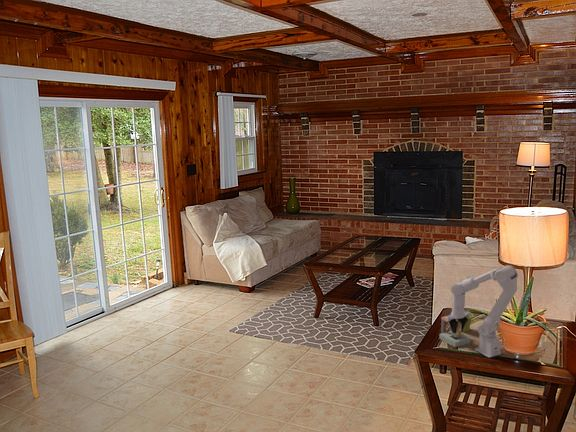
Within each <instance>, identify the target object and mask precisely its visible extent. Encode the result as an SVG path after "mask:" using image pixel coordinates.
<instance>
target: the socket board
mask: <svg viewBox="0 0 576 432" xmlns="http://www.w3.org/2000/svg"><path fill="white" fill-rule="evenodd" d="M453 334H454V333H452V331H446V332H445V333H441V332H440V333H439V338H438V339H439V340H441V341H444V342H445V343H447V344H448V345H449V346H452V347H453V348H457V347H461V346H464V345H468V344H471V341H472V340H471V337H469V336H467V335H465V334H464V333H461V337H460V338H456V337H454V336H453Z"/></svg>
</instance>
